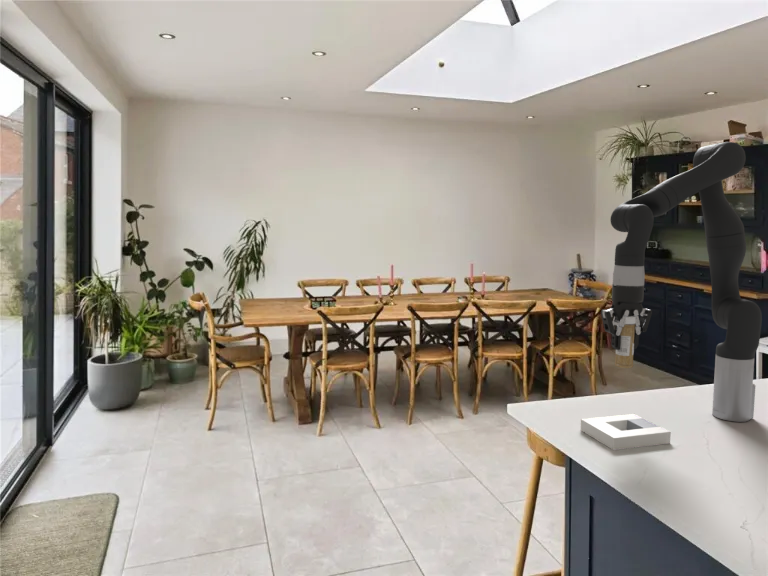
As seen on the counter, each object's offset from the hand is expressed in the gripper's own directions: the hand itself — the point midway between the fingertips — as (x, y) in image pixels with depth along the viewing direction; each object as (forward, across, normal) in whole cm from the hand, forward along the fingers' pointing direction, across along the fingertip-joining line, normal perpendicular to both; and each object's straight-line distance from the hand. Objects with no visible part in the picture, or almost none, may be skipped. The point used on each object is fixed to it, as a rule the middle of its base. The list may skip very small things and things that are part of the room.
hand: (624, 348), depth 154 cm
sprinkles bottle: (+5, 0, 0) cm, 5 cm away
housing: (+22, +2, +5) cm, 22 cm away
